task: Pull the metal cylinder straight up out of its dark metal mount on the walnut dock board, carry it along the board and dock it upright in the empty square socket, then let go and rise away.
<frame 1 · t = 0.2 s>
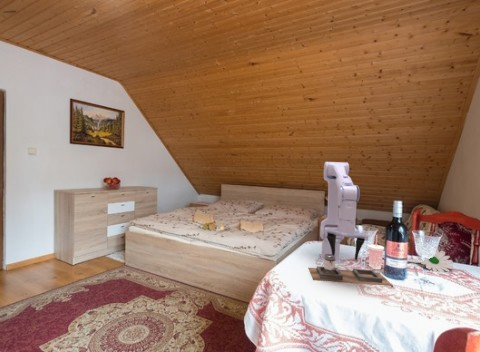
hand: (344, 256, 98), 10 cm above the table, tool pointing down, fingers open, 7 cm apart
beverage cup: (374, 267, 117), on the table
metal cylinder: (328, 274, 106), resting on dock board
flower: (411, 264, 123), on the table
dock board: (347, 277, 105), on the table
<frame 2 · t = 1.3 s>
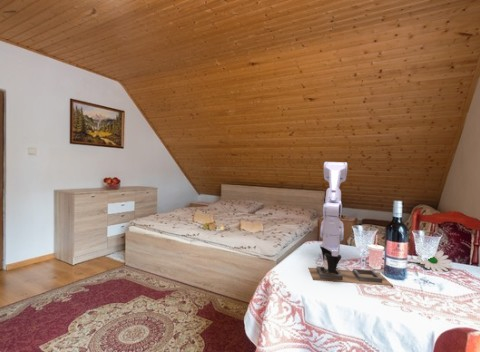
hand: (329, 268, 105), 3 cm above the table, tool pointing down, fingers open, 7 cm apart
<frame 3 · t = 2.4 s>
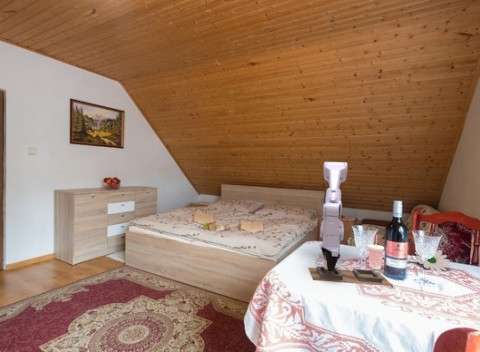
hand: (329, 268, 105), 3 cm above the table, tool pointing down, fingers closed on metal cylinder, 4 cm apart
metal cylinder: (328, 274, 106), resting on dock board, touching gripper
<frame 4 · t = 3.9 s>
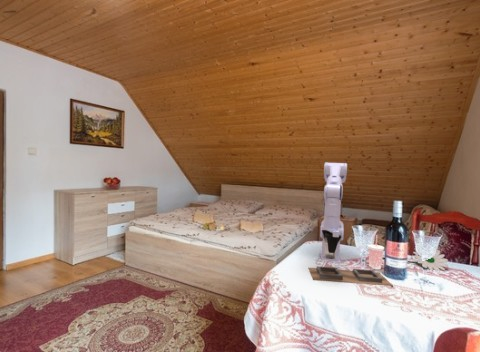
hand: (330, 250, 105), 10 cm above the table, tool pointing down, fingers closed on metal cylinder, 4 cm apart
metal cylinder: (329, 257, 105), point 7 cm above the table, touching gripper
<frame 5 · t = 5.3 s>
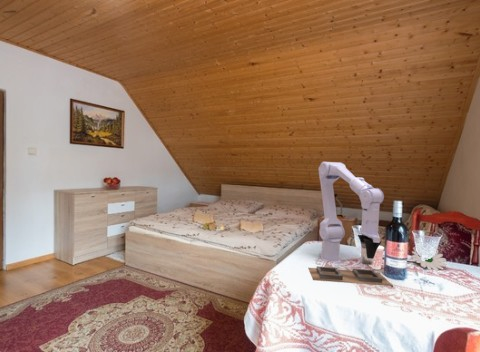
hand: (367, 256, 104), 9 cm above the table, tool pointing down, fingers closed on metal cylinder, 4 cm apart
metal cylinder: (366, 262, 104), point 6 cm above the table, touching gripper
when the fingers open (4 cm above the table, at t = 7.1 s): metal cylinder stays where it is, resting on dock board.
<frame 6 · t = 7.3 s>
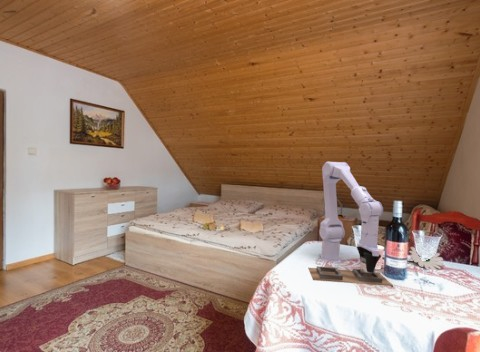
hand: (367, 268, 104), 4 cm above the table, tool pointing down, fingers open, 5 cm apart
metal cylinder: (365, 277, 104), point 1 cm above the table, touching dock board
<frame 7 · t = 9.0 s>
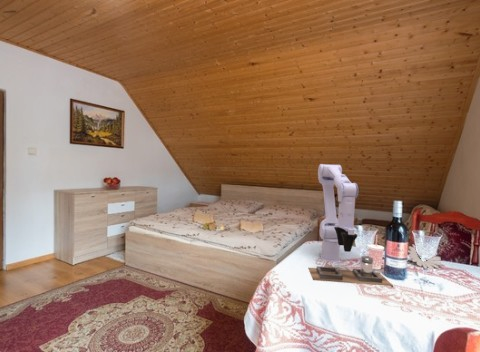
hand: (344, 248, 107), 10 cm above the table, tool pointing down, fingers open, 7 cm apart
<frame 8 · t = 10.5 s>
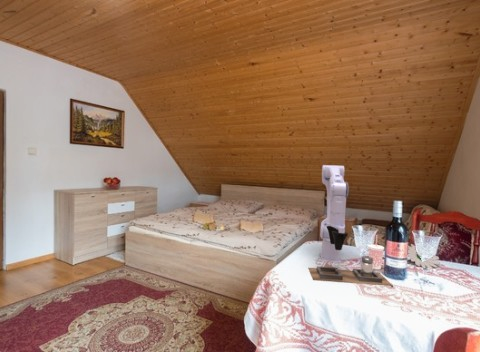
hand: (335, 246, 109), 10 cm above the table, tool pointing down, fingers open, 7 cm apart
at the end: metal cylinder 0.3 cm from the target spot on the dock board, point 0.5 cm above the dock board's base; metal cylinder tilted 1°; the gripper is holding nothing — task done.
